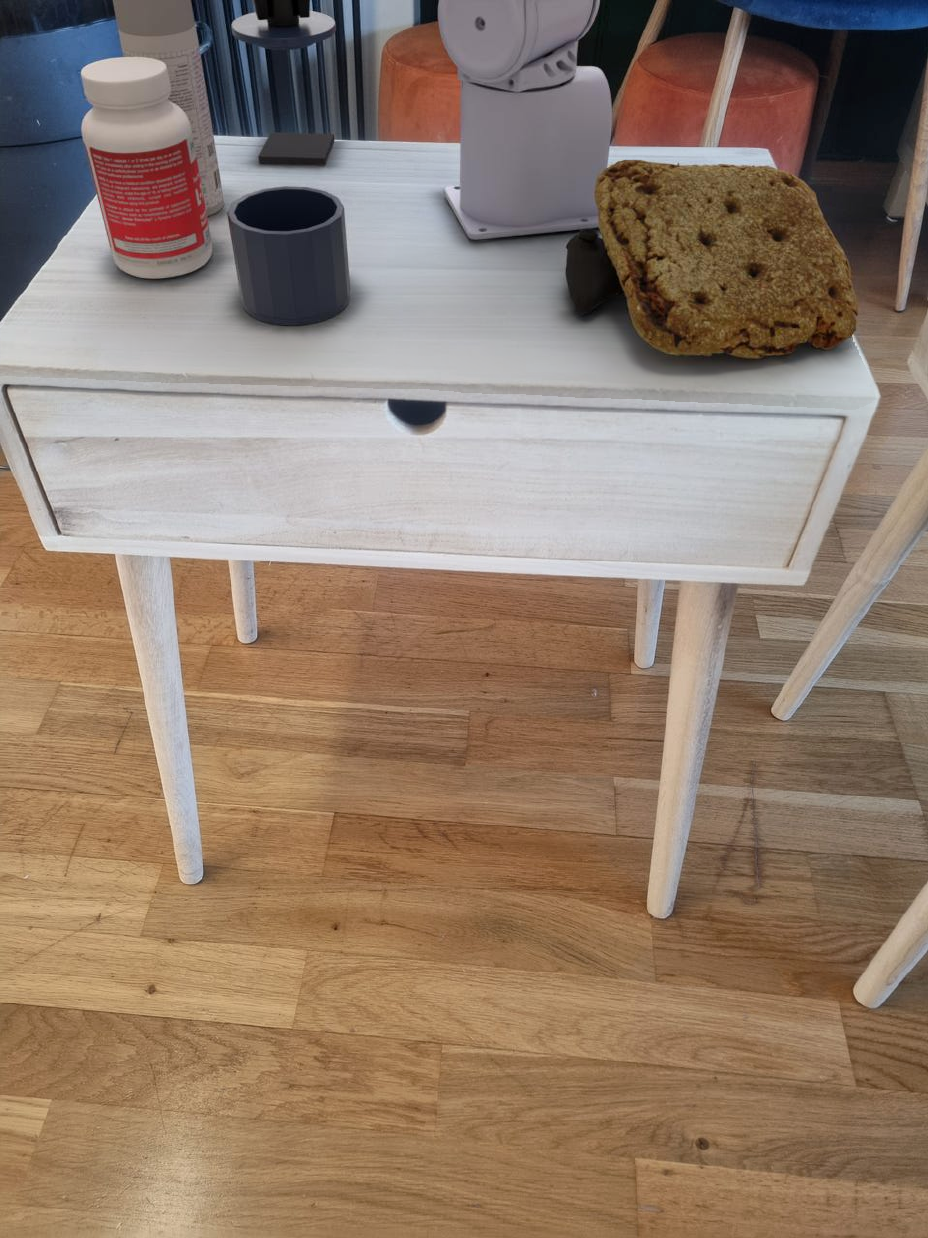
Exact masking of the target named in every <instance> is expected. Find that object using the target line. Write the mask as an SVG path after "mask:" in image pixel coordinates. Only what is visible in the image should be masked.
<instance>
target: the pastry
mask: <svg viewBox="0 0 928 1238" xmlns="http://www.w3.org/2000/svg"><path fill="white" fill-rule="evenodd" d="M594 197H595V202H596V204H597V207H598V219H599V228H598V229H599V231H600V235H601V238H602V239H603V241H604V244H605V246H604V248H606V249H607V251H608V256H609V257H610V259H611V262H612V266H613V267H614V268H615V269H616V271H617V275H618V277H619V280H620V283H621V286H622V288H623V291H624V292H625V294H624V297H626V301H627V303H626V304H627V307H628V315H629V317H630V320H631V323H632V327H633V328H634V330H635V332H636V333H637V335H638V336H639V338H640V339H641V340H643V341H644V342H646V343H647V344H648V345H649V346H650V347H651V348H653V349H654V350H655V351H658V352H660V353H662V354H665V355H671V356H676V357H679V356H680V355H681V356H682V357H689V356H703V357H711V356H712V355H713V354H722V353H726V354H728V355H729V356H733V357H737V358H743V359H763V358H765V357H767V356H781V355H788V354H792V353H794V352H795V351H797V349H798V346H799V344H806V343H811V344H812V346H813V347H815V348H816V349H819V348H820V349H822V350H833V349H834V348H836V346H838V345H840V344H843V343H844V342H845V341H846V340H847V339H851V338H852V336H853V335H854V333H855V332H856V331H857V319H856V318H857V317H858V315H859V305H858V300H857V296H856V292H855V290H854V286H853V280H852V269H851V265H850V263H849V259H848V258H847V256H846V254H845V250H844V249H843V248H842V246H841V245H840V244H839V242H838V240H837V238H836V236H835V235H834V233H833V232H832V229H831V228H830V227H829V225H828V223H827V221H826V220H827V219H825V218H824V214H823V212H822V210H821V207H820V205H819V202H818V198H817V194H816V192H815V191H814V190H813V189H811V187H810V186H809V185H808V184H807V183H806V182H805V180H803V179H802V178H799V177H797V176H795V175H794V174H792V173H791V172H788V171H786V170H782V169H778V168H775V167H774V166H771V165H754V164H753V165H747V164H743V165H742V164H741V165H736V164H727V163H726V164H725V163H718V164H712V165H709V164H703V165H698V164H691V165H688V164H685V165H684V164H681V165H680V162H677V164H673V163H665V162H655V161H654V162H653V161H647V160H642V159H622V160H618V161H617V162H615V163H613V164H611V165H609V166H607V168H606V169H604V170H603V172H602V173H601V174H599V176H598V178H597V181H596V185H595V196H594Z"/></svg>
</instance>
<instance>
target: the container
mask: <svg viewBox="0 0 928 1238" xmlns="http://www.w3.org/2000/svg"><path fill="white" fill-rule="evenodd" d="M112 4H113V10H114V13H115V15H114V16H115V21H116V25H117V31H118V36H119V42H120V47H121V51H122V57H146V58H152V59H157V60H159V61H162V62H163V63H165V65H166V66H167V71H168V75H169V79H170V84H171V94H170V96H169V97H168V100H169V101H170V102H172V103H174V104H176V105H177V106H179V107H180V108H181V109H182V110H183V111H184V112H185V114H186V115H187V117H188V119H189V122H190V126H191V130H192V135H193V141H194V146H195V151H196V157H197V163H198V168H199V174H200V179H201V184H202V190H203V195H204V202H205V207H206V213H207V217H209V216H213V215H215V214H217V213H218V212H220V211H221V210H222V209H223V207H224V206H225V199H224V193H223V186H222V180H221V173H220V168H219V162H218V161H219V160H218V155H217V148H216V143H215V136H214V131H213V130H214V129H213V124H212V119H211V118H212V117H211V112H210V111H211V110H210V105H209V99H208V93H207V86H206V80H205V74H204V67H203V61H202V54H201V48H200V41H199V37H198V32H197V26H196V21H195V16H194V10H193V6H192V0H112Z"/></svg>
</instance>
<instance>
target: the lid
mask: <svg viewBox="0 0 928 1238" xmlns="http://www.w3.org/2000/svg"><path fill="white" fill-rule="evenodd" d="M267 6H268V17H269V20H258V18H257V15H256V11H255V12H250V13H247V14H243V15H242V16H238V17H237V18H235V19H234V20H233V21H232V22H231V24H230V25H231V33H232V36H233V37H234V38H235V39H237V40H239V41H241V42H244V43H247V44H250V45H255V46H257V47H259V48H263V49H267V50H273V51H291V50H300V49H304V48H307V47H311V46H312V45H314V44H316V43H319V42H322V41H325V40H327V39H329V38H331V37H332V36H334V35H335V33H336V32H337V27H336V20H335V19H334V18H333V17H332V16H330V15H328V14H325V13H322V12H318V11H314V10H310V17H308V18H300V17H299V15H298V5H297V0H267Z"/></svg>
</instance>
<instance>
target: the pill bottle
mask: <svg viewBox="0 0 928 1238" xmlns="http://www.w3.org/2000/svg"><path fill="white" fill-rule="evenodd" d="M80 78H81V81H82V87H83V92H84V93H83V94H84V96H85V97H86V100H87V102H88V103H89V104H90V105H91V106H92V108H91V109H90V110H88V111H87V112H86V113H85V115H84V117H83V119H82V122H81V125H80V126H81V127H80V131H81V137H82V142H83V146H84V150H85V153H86V157H87V161H88V165H89V169H90V173H91V178H92V180H93V184H94V188H95V192H96V197H97V200H98V204H99V209H100V212H101V213H100V214H101V216H102V221H103V224H104V228H105V233H106V237H107V241H108V244H109V248H110V252H111V255H112V259H113V262H114V263H115V265H116V266H117V268H119V269H120V270H121V271H123V272H124V273H126V274H128V275H130V276H134V277H137V278H141V279H153V280H154V279H167V278H175V277H179V276H183V275H186V274H190V273H192V272H195V271H197V270H198V269H200V268H202V267H204V266H205V265H206V264H207V263H208V261H209V260H210V258H211V256H212V253H213V243H212V235H211V231H210V225H209V220H208V216H207V213H206V207H205V202H204V195H203V190H202V184H201V179H200V174H199V168H198V163H197V157H196V151H195V146H194V141H193V135H192V130H191V126H190V122H189V119H188V117H187V115H186V114H185V112H184V111H183V110H182V109H181V108H180V107H179V106H177V105H176V104H174V103H172V102H170V101H169V100H168V97H169V96H170V94H171V84H170V79H169V75H168V71H167V66H166V65H165V63H163V62H162V61H159V60H157V59H152V58H146V57H123V56H120V57H110V58H105V59H101V60H97V61H93V62H91V63H89V64H87V65H85V66H84V67H83V68H82V69H81V70H80Z"/></svg>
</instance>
